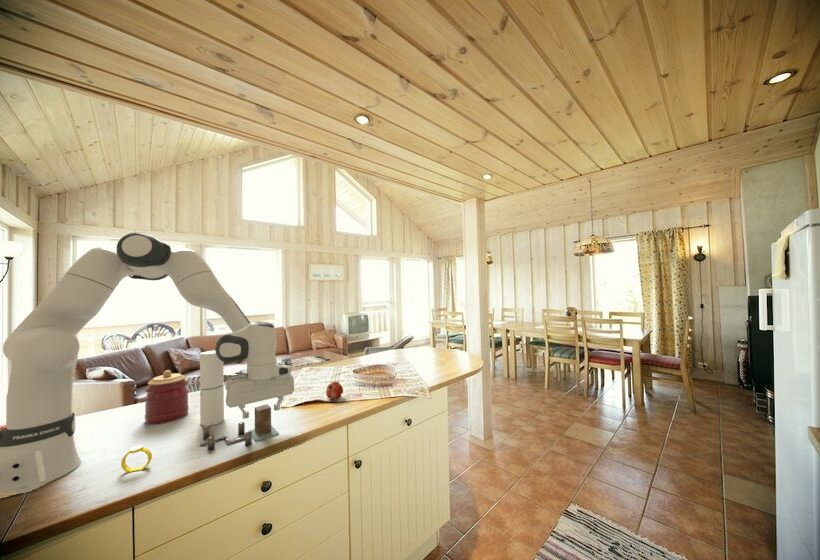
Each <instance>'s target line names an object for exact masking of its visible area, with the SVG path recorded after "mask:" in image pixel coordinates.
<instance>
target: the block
mask: <svg viewBox="0 0 820 560" xmlns="http://www.w3.org/2000/svg"><path fill="white" fill-rule="evenodd" d="M271 425H272V407H271V406H270V405H269V404H268V403H266V404H263V405H259V406H255V407H254V429H255V433H256V434H257V435H258V436H260V435H263V434H267V433H270V432H271Z"/></svg>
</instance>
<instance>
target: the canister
mask: <svg viewBox="0 0 820 560" xmlns="http://www.w3.org/2000/svg"><path fill="white" fill-rule="evenodd" d="M186 378H187V376H185V375H184V374H181V373H172V371H171V370H170V369H167V370H164V371H163V373H162V375H161V374H160V375H158V376H155V377H153V378H152V379H151V380H149V381H148V382H147V384H148V386H147V387H146V388H145V389H144V392H146V397H145V398H144V403H145V406H144V407H145V409H144V411H145V415H144V420H145V423H147V424H149V425H158V424H164V423H169V421H170V422H173V421H176V420H179V419H181V418H183V417H185V416H187V415H188V413H189V389H188V385H189V383H190V382H189V381H188V380H186Z"/></svg>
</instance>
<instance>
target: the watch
mask: <svg viewBox="0 0 820 560" xmlns="http://www.w3.org/2000/svg"><path fill="white" fill-rule="evenodd" d="M138 452H143V453H145V454H146V456H147V462H146V464H145V465H143V466H140V467H134V468H132V467H130V466H128V465H127V463H126V458H127V457H128V455H130V454H136V453H138ZM152 458H153V457H152V452H151V451H150V449H148V448H147V447H144V445H142V444H140V445H136V446H133V447H131V448H130V449H129V450H128V452H126V454H125V455H124V456H123V457H122V459H121V461H120V463H121V464H120V465H121V469H122V470H123V471H125V472H127V473H133V472H138V471H143V470H144V469H145V468H147V467H148V466H149V464H150V463H151V460H152Z"/></svg>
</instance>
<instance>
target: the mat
mask: <svg viewBox="0 0 820 560" xmlns="http://www.w3.org/2000/svg"><path fill="white" fill-rule="evenodd" d="M247 432H252V440H253V441H254V442H255V443H257V442H260V441H264V440H266V439H270V438H272V437H275V436H276V437H277V436H278V435H280V433H279V431H277V430H276V428H274V426H273V425H272V424H271V432H270V433H267V434H263V435H260V436H258V435H257V434H256V433H255V428H254V429H250V430H248V431H247Z"/></svg>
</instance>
